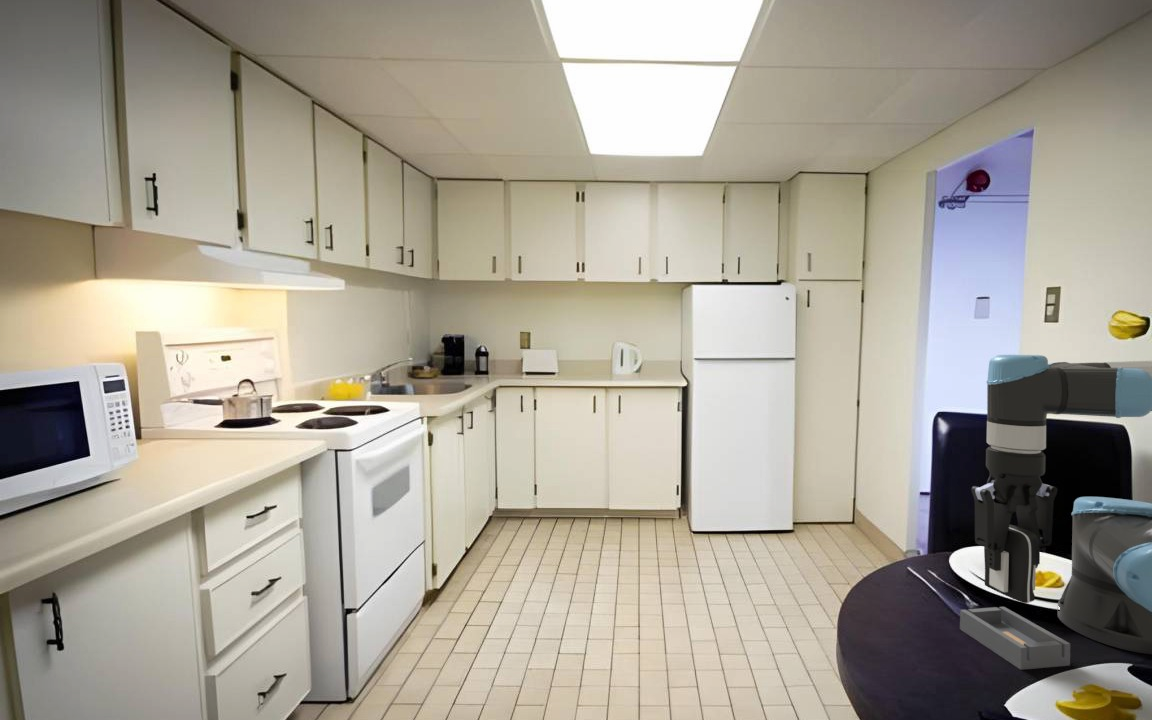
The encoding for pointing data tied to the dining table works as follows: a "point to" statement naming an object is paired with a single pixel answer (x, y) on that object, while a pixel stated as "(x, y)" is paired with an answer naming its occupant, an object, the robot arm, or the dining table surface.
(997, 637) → the tray
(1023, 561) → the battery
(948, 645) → the dining table surface
